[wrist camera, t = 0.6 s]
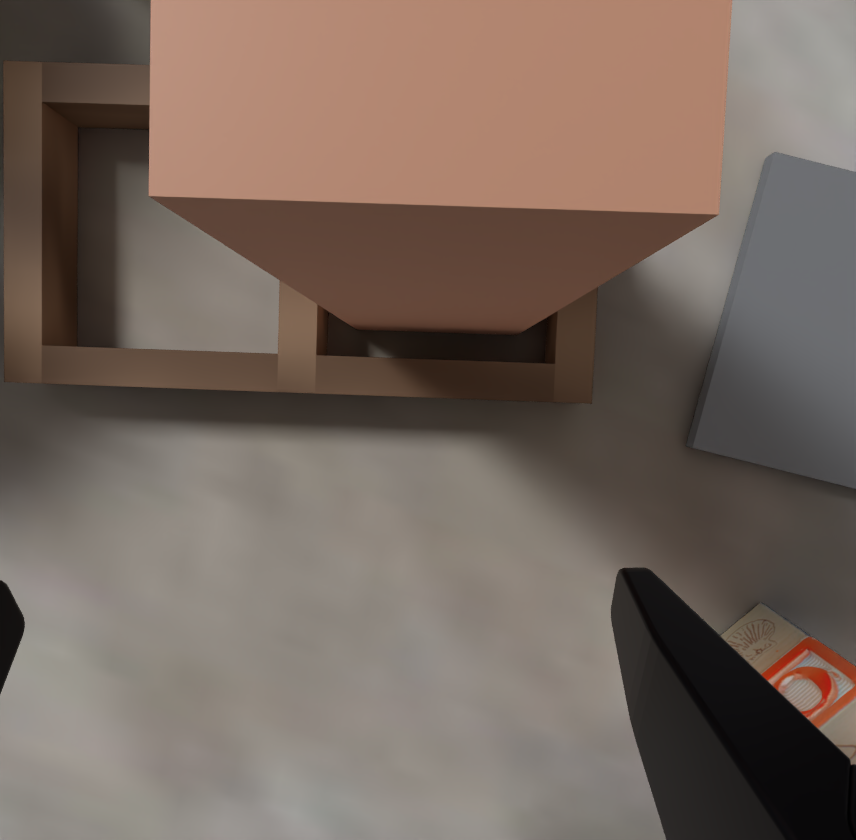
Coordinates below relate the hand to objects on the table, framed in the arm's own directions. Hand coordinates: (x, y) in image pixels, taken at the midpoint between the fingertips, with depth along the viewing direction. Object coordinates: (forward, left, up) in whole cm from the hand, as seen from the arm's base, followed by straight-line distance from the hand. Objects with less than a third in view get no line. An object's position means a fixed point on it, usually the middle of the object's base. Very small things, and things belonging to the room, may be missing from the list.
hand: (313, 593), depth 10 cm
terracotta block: (+7, -3, -13) cm, 15 cm away
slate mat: (+2, -17, -13) cm, 21 cm away
